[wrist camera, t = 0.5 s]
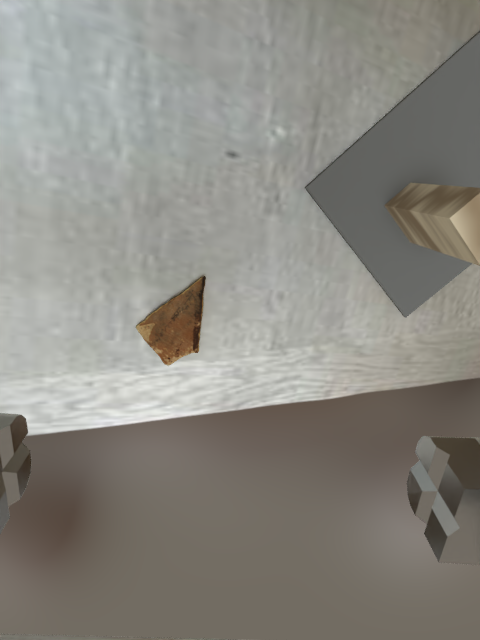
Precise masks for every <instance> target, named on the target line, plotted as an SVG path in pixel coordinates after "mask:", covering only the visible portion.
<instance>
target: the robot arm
mask: <svg viewBox="0 0 480 640" xmlns="http://www.w3.org/2000/svg"><path fill="white" fill-rule="evenodd" d="M27 434H28V429H27V423H26V418H24V417H23V416H22V415H18V414H5V413H0V534H1V532H2V530H3V528H4V526H5V525H6V523H7V521H8V520H9V518H10V516H9V509H8V507H9V506H10V505H12V504H13V503H14V502H16V501H18V500H19V499H20V498H21V496H22V495H23V493H24V491H25V488H26V487H27V483H28V480H29V476H30V473H31V453H30V450H29V449H28V448H27V447H26V446H25V445H24V444H23V443H22V441H23V440H24V438H25V437H26V435H27ZM416 454H417V456H418V458H419V460H420V461H419V462H418V463H417V464H415V465H414V466H413V467H412V468H411V469H410V472H409V476H408V481H407V491H408V498H409V502H410V506H411V508H412V510H413V512H414V514H415V516H417V517H418V518H419V519H420V520H422V521H423V522H424V523H426V524H427V526H426V529H425V532H424V534H425V536H426V538H427V540H428V542H429V544H430V546H431V548H432V550H433V552H434V554H435V556H436V558H437V560H438V562H439V563H453V564H454V563H455V564H470V565H480V438H474V437H472V438H471V437H470V438H455V437H431V436H423V437H422V438H421V439H420V440H419V442H418V445H417V448H416ZM0 640H231V639H192V638H151V637H112V636H69V635H68V636H67V635H28V634H0ZM232 640H234V639H232ZM235 640H236V639H235Z"/></svg>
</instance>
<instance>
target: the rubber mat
mask: <svg viewBox="0 0 480 640" xmlns="http://www.w3.org/2000/svg"><path fill="white" fill-rule="evenodd" d="M410 183H421V184H435V185H448V186H461V187H475V188H480V31H479V32H478V33H477V34H476V35H475V36H474V37H473V38H471V39H470V40H469V41H468V42H467V43H466V44H465V45H464V46H463V47H461V48H460V49H459V50H458V51H457V52H456V53H455V54H454V55H453V56H451V57H450V58H449V59H448V60H447V61H446V62H445V63H444V64H442V65H441V66H440V67H439V68H438V69H437V70H436V71H435V72H434V73H432V74H431V75H430V76H429V77H428V78H427V79H426V80H425V81H423V82H422V83H421V84H420V85H419V86H418V87H417V88H416V89H415V90H413V91H412V92H411V93H410V94H409V95H408V96H407V97H406V98H404V99H403V100H402V101H401V102H400V103H399V104H398V105H397V106H396V107H394V108H393V109H392V110H391V111H390V112H389V113H388V114H387V115H385V116H384V117H383V118H382V119H381V120H380V121H379V122H378V123H377V124H375V125H374V126H373V127H372V128H371V129H370V130H369V131H368V132H366V133H365V134H364V135H363V136H362V137H361V138H360V139H359V140H358V141H356V142H355V143H354V144H353V145H352V146H351V147H350V148H349V149H347V150H346V151H345V152H344V153H343V154H342V155H341V156H340V157H339V158H337V159H336V160H335V161H334V162H333V163H332V164H331V165H330V166H328V167H327V168H326V169H325V170H324V171H323V172H322V173H321V174H320V175H318V176H317V177H316V178H315V179H314V180H313V181H312V182H311V183H309V184H308V185H307V186H306V187H305V189H306V190H307V191H308V192H309V194H310V195H311V196H312V198H313V199H314V200H315V202H316V203H317V204H318V205H319V207H320V208H321V209H322V211H323V212H324V213H325V215H326V216H327V217H328V218H329V220H330V221H331V222H332V224H333V225H334V226H335V228H336V229H337V230H338V231H339V233H340V234H341V235H342V237H343V238H344V239H345V241H346V242H347V243H348V244H349V246H350V247H351V248H352V250H353V251H354V252H355V254H356V255H357V256H358V257H359V259H360V260H361V261H362V263H363V264H364V265H365V267H366V268H367V269H368V270H369V272H370V273H371V274H372V276H373V277H374V278H375V279H376V281H377V282H378V283H379V285H380V286H381V287H382V289H383V290H384V291H385V292H386V294H387V295H388V296H389V298H390V299H391V300H392V302H393V303H394V304H395V305H396V307H397V308H398V309H399V311H400V312H401V313H402V315H403V316H404V317H407V316H408V315H409V314H411V313H412V312H413V311H414V310H416V309H417V308H418V307H419V306H421V305H422V304H423V303H424V302H425V301H427V300H428V299H429V298H430V297H432V296H433V295H434V294H435V293H436V292H438V291H439V290H440V289H441V288H443V287H444V286H445V285H446V284H447V283H449V282H450V281H451V280H452V279H454V278H455V277H456V276H457V275H459V274H460V273H461V272H462V271H463V270H465V269H466V268H467V267H468V266H470V265H471V264H472V263H470V262H467V261H464V260H461V259H458V258H455V257H452V256H449V255H446V254H443V253H440V252H437V251H434V250H432V249H429V248H426V247H423V246H420V245H417V244H414V243H411V242H410V241H409V240H408V238H407V237H406V236H405V234H404V233H403V231H402V230H401V229H400V227H399V226H398V224H397V223H396V222H395V220H394V219H393V217H392V216H391V214H390V213H389V212H388V210H387V209H386V207H385V206H384V205H385V204H386V203H388V202H389V201H390V200H391V199H392V198H393V197H395V196H396V195H397V194H398V193H399V192H400V191H401V190H403V189H404V188H405V187H406V186H407V185H408V184H410Z"/></svg>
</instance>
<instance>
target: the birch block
mask: <svg viewBox="0 0 480 640" xmlns="http://www.w3.org/2000/svg"><path fill="white" fill-rule="evenodd" d="M384 206H385V207H386V209H387V210H388V212H389V213H390V214H391V216H392V217H393V219H394V220H395V222H396V223H397V224H398V226H399V227H400V229H401V230H402V231H403V233H404V234H405V236H406V237H407V238H408V240H409V241H410V242H411V243H414V244H417V245H420V246H423V247H426V248H429V249H432V250H434V251H437V252H440V253H443V254H446V255H449V256H452V257H455V258H458V259H461V260H464V261H467V262H470V263H473V264H476V265H479V266H480V188H475V187H461V186H448V185H435V184H421V183H410V184H408V185H407V186H406V187H405V188H404V189H403V190H401V191H400V192H399V193H398V194H397V195H396V196H395V197H393V198H392V199H391V200H390V201H389V202H388V203H386V204H385V205H384Z"/></svg>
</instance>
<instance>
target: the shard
mask: <svg viewBox="0 0 480 640" xmlns="http://www.w3.org/2000/svg"><path fill="white" fill-rule="evenodd" d="M204 286H205V276H204V277H201V278H200V279H199V280H198V281H196V282H195V283H194V284H193V285H191V286H190V287H189V288H188V289H186V290H185V291H184V292H183V293H181V294H180V295H179V296H176V297H174V298H173V299H171V300H170V301H169V302H168V303H166V304H164V305H163V306H161V307H160V308H159V309H158V310H156V311H154V312H153V313H151V314H150V315H149V316H148V317H146V319H145V320H144V321H143V322H141V323H140V324H138V325H137V326H136V329H137V330H138V332H139V333H140V334H141V335H142V337H143V339H144V340H145V341H146V342H147V343H148V344H149V345H150V347H152V348H153V350H154V351H155V352H156V353H157V354H158V355H159V357H160V358H161V360H162V361H163V363H164V364H166V365H170V364H172V363H174V362H175V361H177V360H178V359H180V358H181V357H183V356H185V355H188V354H190V353H198V351H199V340H200V328H201V320H202V311H203V291H204Z"/></svg>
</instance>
